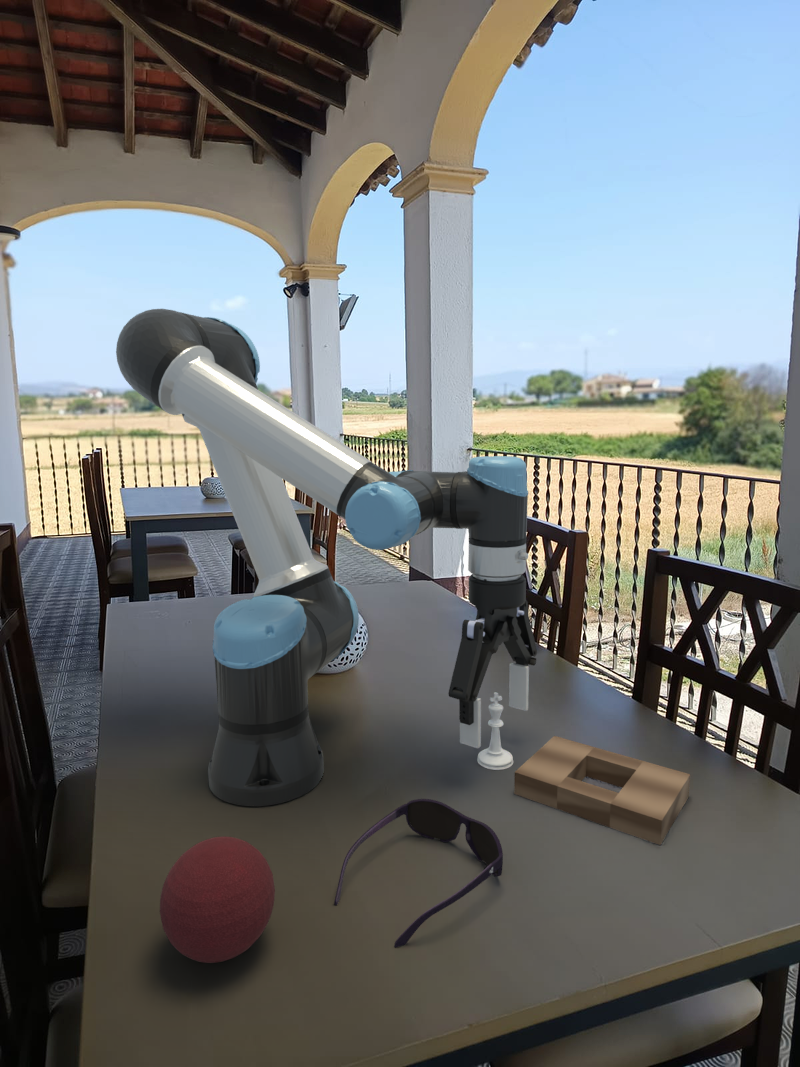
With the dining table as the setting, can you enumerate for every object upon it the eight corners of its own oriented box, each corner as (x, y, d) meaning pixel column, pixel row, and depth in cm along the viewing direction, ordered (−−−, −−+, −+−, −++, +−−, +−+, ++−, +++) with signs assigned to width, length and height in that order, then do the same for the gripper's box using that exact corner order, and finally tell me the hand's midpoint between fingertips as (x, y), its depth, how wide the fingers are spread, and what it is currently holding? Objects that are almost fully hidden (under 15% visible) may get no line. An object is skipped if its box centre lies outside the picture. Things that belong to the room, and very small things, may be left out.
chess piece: (471, 756, 96) (471, 689, 94) (502, 749, 98) (503, 683, 96) (487, 773, 92) (488, 702, 90) (519, 766, 93) (521, 696, 91)
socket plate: (660, 845, 76) (661, 820, 75) (514, 793, 86) (514, 772, 86) (688, 796, 85) (690, 774, 85) (553, 755, 96) (554, 735, 95)
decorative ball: (152, 933, 64) (144, 836, 62) (255, 893, 69) (250, 803, 67) (180, 1011, 55) (171, 901, 54) (294, 959, 61) (289, 857, 59)
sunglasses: (517, 877, 71) (518, 833, 71) (421, 968, 60) (420, 917, 59) (418, 827, 80) (417, 788, 79) (317, 898, 69) (315, 853, 68)
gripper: (473, 599, 78) (472, 771, 82) (562, 560, 98) (558, 700, 101) (419, 590, 82) (421, 754, 86) (515, 555, 102) (513, 689, 106)
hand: (495, 725), depth 94 cm, fingers open, 13 cm apart
